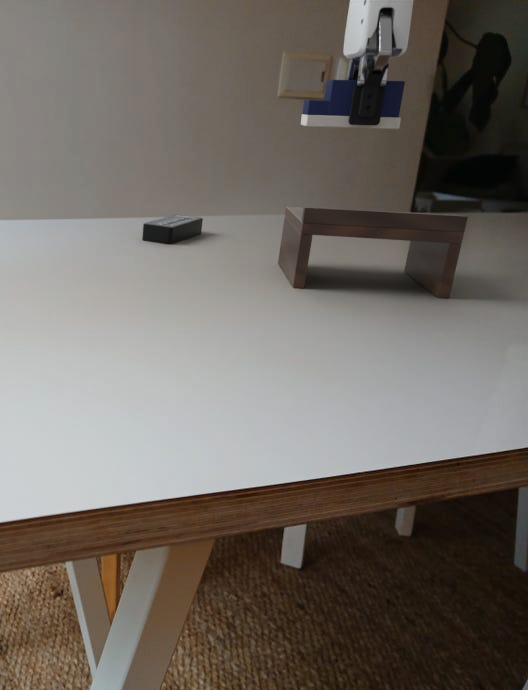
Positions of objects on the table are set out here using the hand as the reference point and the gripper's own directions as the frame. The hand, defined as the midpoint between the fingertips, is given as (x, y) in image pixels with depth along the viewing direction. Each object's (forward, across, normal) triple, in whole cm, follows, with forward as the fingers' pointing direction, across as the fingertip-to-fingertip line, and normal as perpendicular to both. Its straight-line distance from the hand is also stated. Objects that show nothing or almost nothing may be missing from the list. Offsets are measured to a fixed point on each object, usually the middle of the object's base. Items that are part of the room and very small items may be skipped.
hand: (358, 122), depth 85 cm
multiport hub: (+17, +13, +20) cm, 29 cm away
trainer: (+1, 0, +1) cm, 1 cm away
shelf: (+17, -6, -1) cm, 18 cm away
